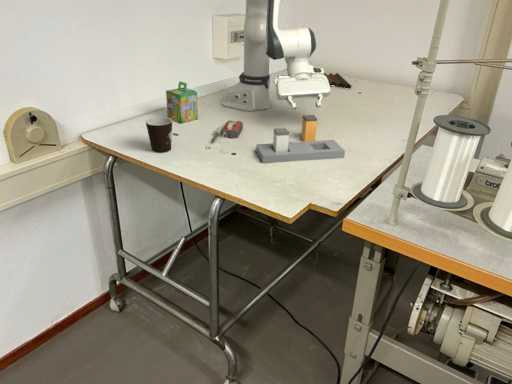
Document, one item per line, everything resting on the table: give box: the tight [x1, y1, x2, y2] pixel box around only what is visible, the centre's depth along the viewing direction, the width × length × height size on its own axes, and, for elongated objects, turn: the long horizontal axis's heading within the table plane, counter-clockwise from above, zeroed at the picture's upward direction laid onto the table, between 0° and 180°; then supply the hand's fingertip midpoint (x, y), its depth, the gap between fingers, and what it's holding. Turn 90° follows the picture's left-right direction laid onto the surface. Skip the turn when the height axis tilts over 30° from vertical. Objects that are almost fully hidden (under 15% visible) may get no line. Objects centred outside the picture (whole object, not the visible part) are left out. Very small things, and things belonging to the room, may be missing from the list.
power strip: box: [255, 139, 346, 164], centre depth 139 cm, size 28×10×2 cm, turn 102°
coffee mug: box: [145, 116, 173, 154], centre depth 139 cm, size 12×9×10 cm
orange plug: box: [300, 114, 318, 142], centre depth 149 cm, size 4×4×9 cm
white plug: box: [272, 127, 290, 153], centre depth 136 cm, size 4×4×9 cm
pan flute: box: [324, 72, 353, 89], centre depth 228 cm, size 25×3×25 cm
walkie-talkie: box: [211, 120, 244, 143], centre depth 153 cm, size 9×4×20 cm
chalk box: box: [165, 81, 199, 124], centre depth 165 cm, size 9×9×15 cm
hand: (306, 107), depth 151 cm, fingers open, 8 cm apart
